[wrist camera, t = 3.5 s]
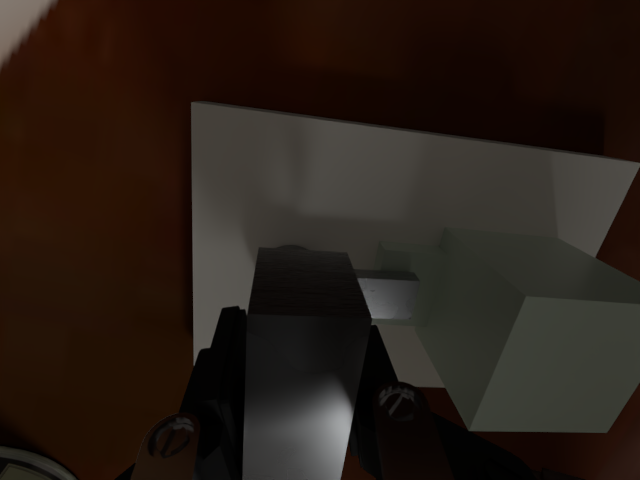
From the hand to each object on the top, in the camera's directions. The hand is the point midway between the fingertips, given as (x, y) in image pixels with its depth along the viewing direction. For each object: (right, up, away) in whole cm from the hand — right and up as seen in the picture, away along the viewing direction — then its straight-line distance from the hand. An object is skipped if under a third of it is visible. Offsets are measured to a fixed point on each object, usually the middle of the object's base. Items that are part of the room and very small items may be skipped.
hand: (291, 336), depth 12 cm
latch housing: (+5, +2, +7) cm, 9 cm away
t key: (+2, +2, +5) cm, 5 cm away
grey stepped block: (+8, +1, +6) cm, 10 cm away
